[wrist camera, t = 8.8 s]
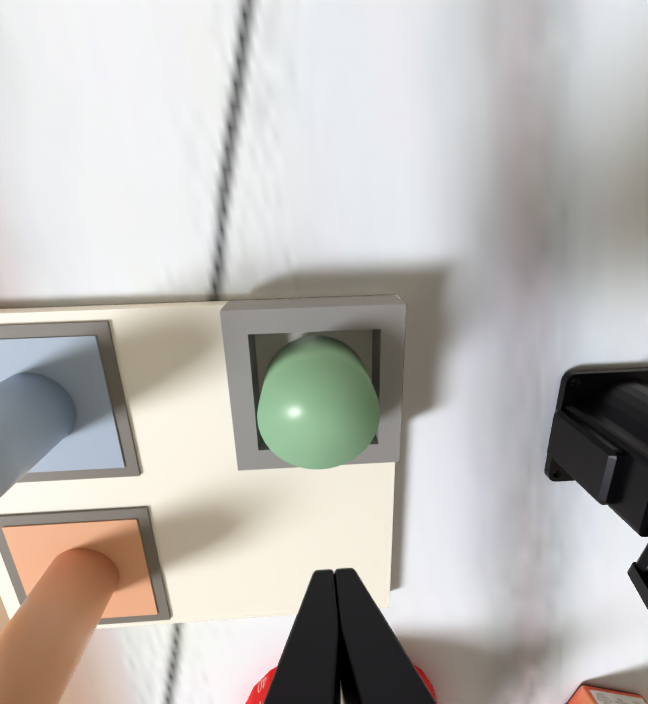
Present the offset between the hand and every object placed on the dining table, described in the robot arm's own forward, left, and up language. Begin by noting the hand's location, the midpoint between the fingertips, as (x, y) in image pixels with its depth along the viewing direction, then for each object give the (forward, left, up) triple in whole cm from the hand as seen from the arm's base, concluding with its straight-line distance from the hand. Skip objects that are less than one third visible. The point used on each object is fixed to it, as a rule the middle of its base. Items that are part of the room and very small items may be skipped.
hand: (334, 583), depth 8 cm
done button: (0, 0, -10) cm, 10 cm away
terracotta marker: (+13, +11, -11) cm, 20 cm away
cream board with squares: (+7, +6, -12) cm, 15 cm away
